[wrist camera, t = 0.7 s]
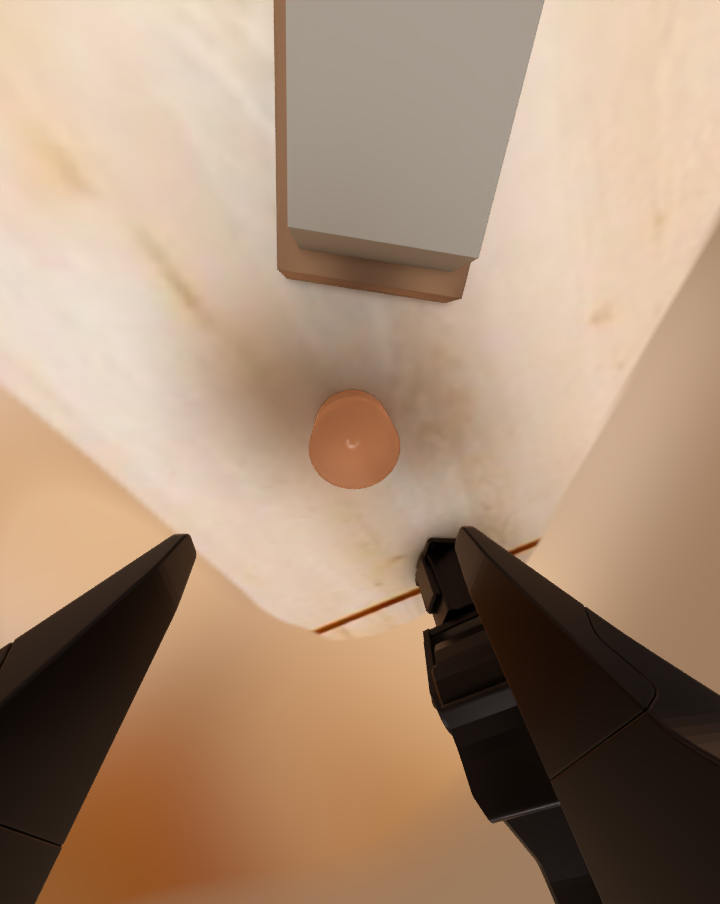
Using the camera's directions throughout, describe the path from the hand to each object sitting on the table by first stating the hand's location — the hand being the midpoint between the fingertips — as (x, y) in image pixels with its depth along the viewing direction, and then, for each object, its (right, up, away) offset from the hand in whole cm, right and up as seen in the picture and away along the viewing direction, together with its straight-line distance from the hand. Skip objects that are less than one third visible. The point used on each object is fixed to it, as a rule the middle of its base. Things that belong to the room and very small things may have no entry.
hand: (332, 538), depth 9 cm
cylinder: (0, +5, +11) cm, 12 cm away
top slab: (+2, +16, +3) cm, 17 cm away
